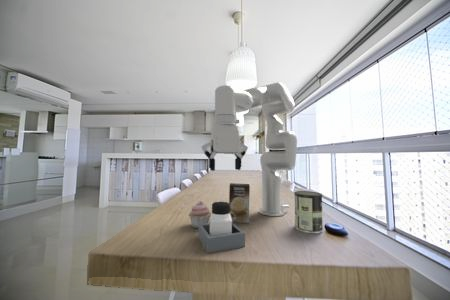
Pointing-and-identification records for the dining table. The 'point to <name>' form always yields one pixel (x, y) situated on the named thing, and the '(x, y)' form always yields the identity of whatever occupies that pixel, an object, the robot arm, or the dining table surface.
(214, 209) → the medicine bottle
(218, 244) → the end holder
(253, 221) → the dining table surface
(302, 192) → the coffee can
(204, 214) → the cupcake
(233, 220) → the coffee box
